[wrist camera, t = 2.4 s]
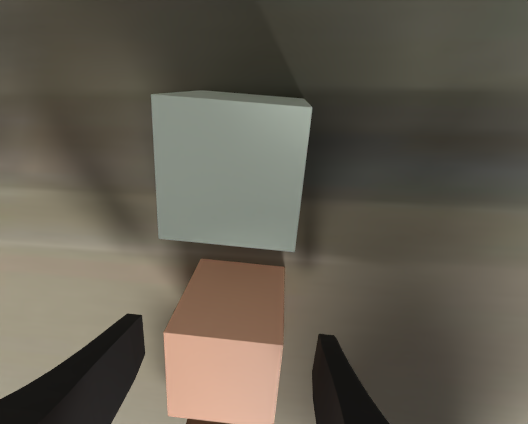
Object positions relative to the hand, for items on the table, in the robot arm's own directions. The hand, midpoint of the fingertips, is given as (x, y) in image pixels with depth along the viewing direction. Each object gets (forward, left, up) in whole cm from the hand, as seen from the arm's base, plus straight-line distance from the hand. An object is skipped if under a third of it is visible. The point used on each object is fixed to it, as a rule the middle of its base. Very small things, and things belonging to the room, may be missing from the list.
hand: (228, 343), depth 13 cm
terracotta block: (0, 0, -3) cm, 3 cm away
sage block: (+7, 0, -3) cm, 8 cm away
